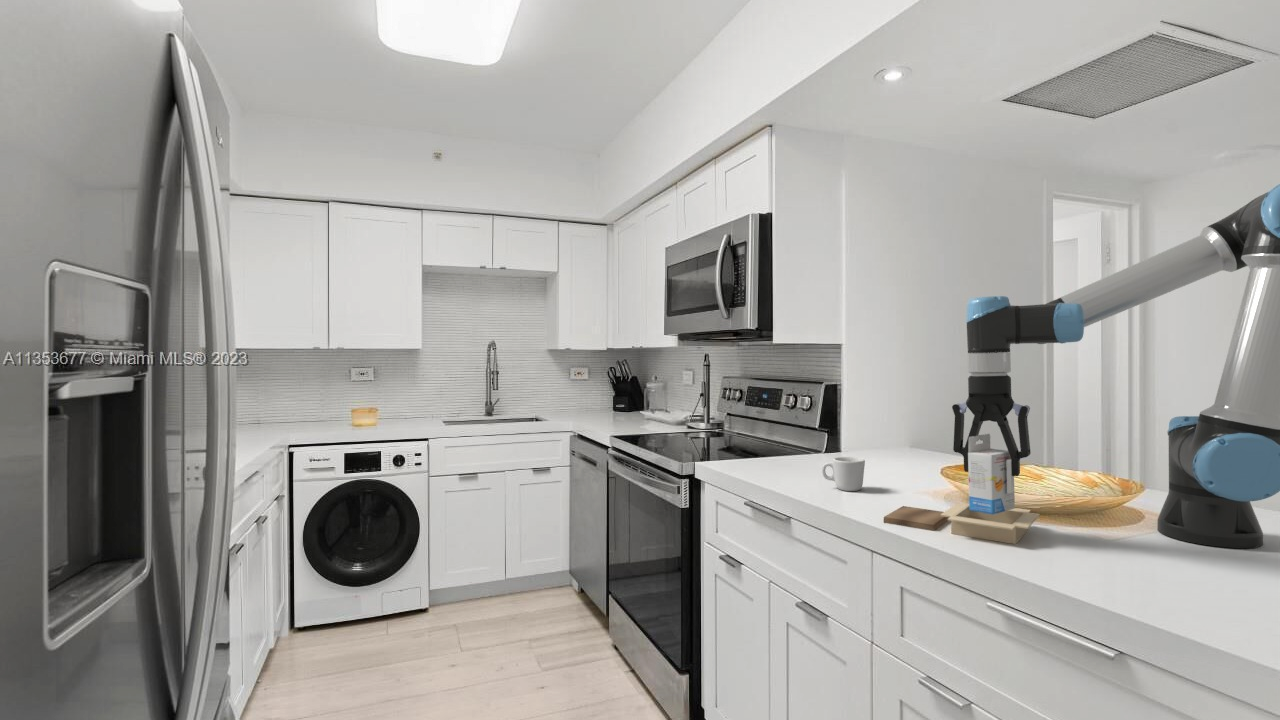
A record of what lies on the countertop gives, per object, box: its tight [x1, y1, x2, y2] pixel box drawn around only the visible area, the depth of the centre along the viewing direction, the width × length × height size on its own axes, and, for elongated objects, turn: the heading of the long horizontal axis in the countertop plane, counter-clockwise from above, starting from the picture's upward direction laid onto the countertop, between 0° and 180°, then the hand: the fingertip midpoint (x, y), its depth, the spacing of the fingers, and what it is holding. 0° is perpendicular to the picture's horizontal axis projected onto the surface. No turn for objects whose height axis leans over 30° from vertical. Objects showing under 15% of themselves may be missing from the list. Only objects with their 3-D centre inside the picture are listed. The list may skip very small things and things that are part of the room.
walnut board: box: [883, 505, 949, 531], centre depth 138 cm, size 10×12×1 cm
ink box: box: [967, 433, 1016, 515], centre depth 128 cm, size 8×5×15 cm, turn 124°
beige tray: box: [941, 502, 1041, 545], centre depth 129 cm, size 15×17×4 cm
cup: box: [821, 456, 866, 492], centre depth 169 cm, size 11×8×8 cm
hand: (991, 490), depth 129 cm, fingers closed on ink box, 6 cm apart
